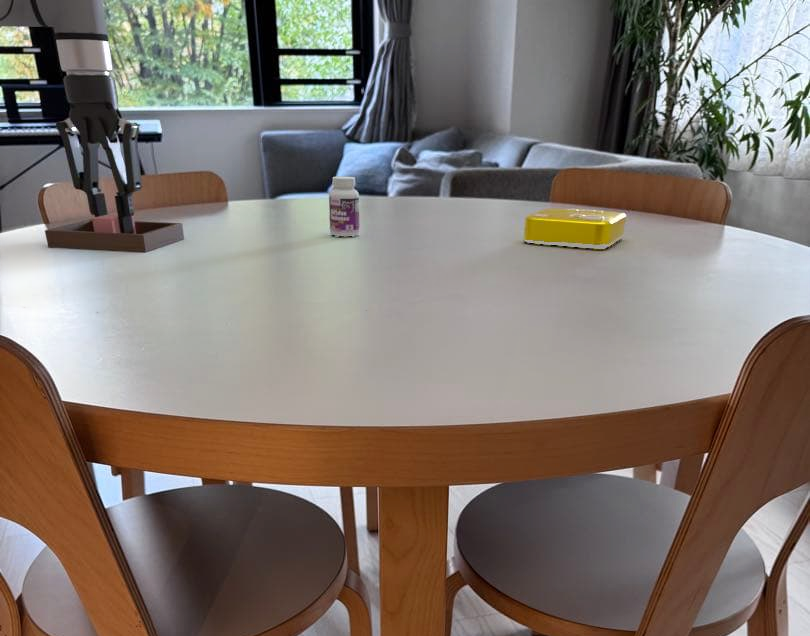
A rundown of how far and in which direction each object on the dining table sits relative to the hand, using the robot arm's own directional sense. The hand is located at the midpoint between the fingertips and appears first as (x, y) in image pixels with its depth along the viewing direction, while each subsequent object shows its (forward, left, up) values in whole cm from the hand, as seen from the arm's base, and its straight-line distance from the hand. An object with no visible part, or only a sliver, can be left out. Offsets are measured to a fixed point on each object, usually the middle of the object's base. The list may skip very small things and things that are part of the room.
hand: (116, 236), depth 128 cm
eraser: (0, 0, 0) cm, 0 cm away
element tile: (+76, +23, -1) cm, 80 cm away
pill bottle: (+35, +18, -1) cm, 40 cm away
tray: (0, 0, -1) cm, 1 cm away
